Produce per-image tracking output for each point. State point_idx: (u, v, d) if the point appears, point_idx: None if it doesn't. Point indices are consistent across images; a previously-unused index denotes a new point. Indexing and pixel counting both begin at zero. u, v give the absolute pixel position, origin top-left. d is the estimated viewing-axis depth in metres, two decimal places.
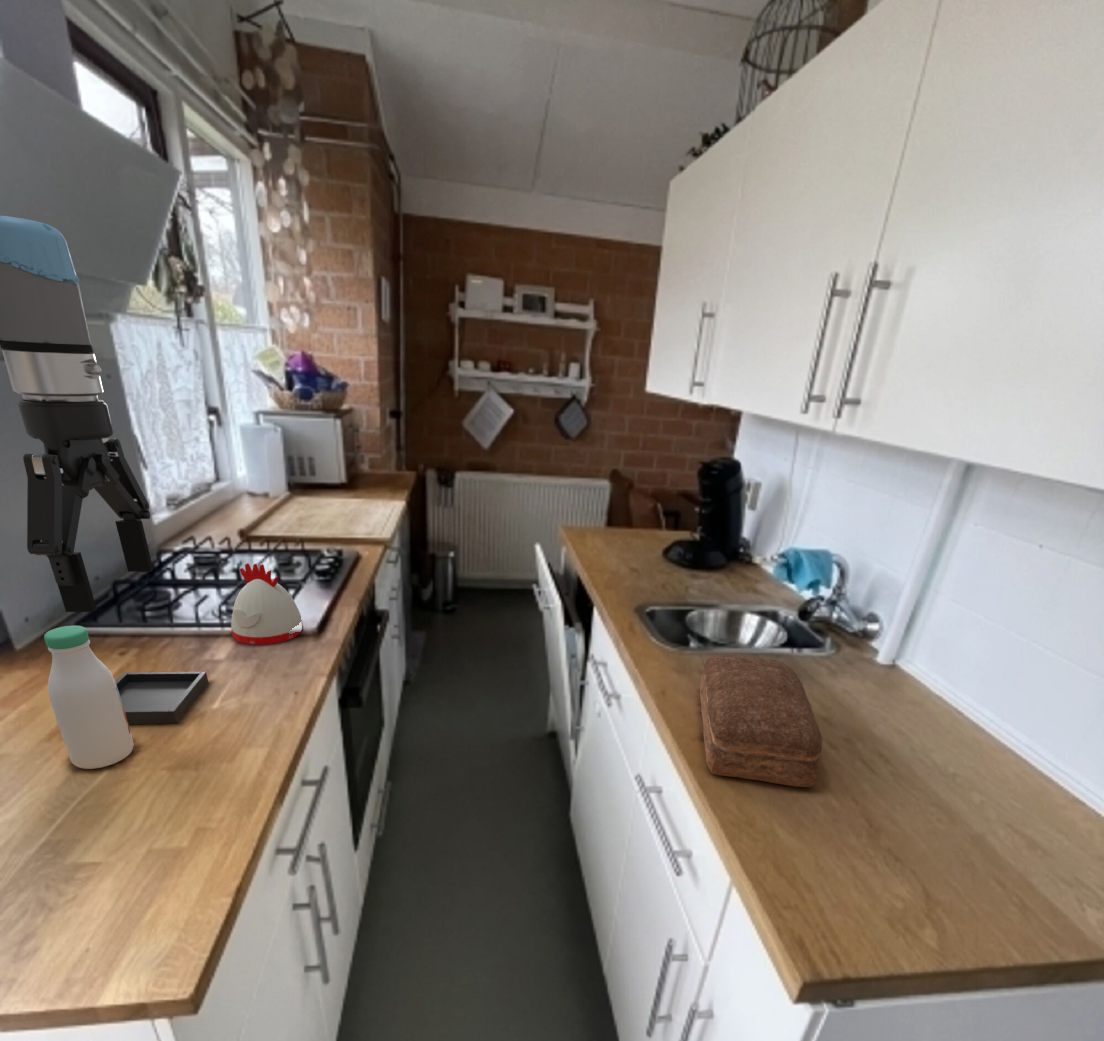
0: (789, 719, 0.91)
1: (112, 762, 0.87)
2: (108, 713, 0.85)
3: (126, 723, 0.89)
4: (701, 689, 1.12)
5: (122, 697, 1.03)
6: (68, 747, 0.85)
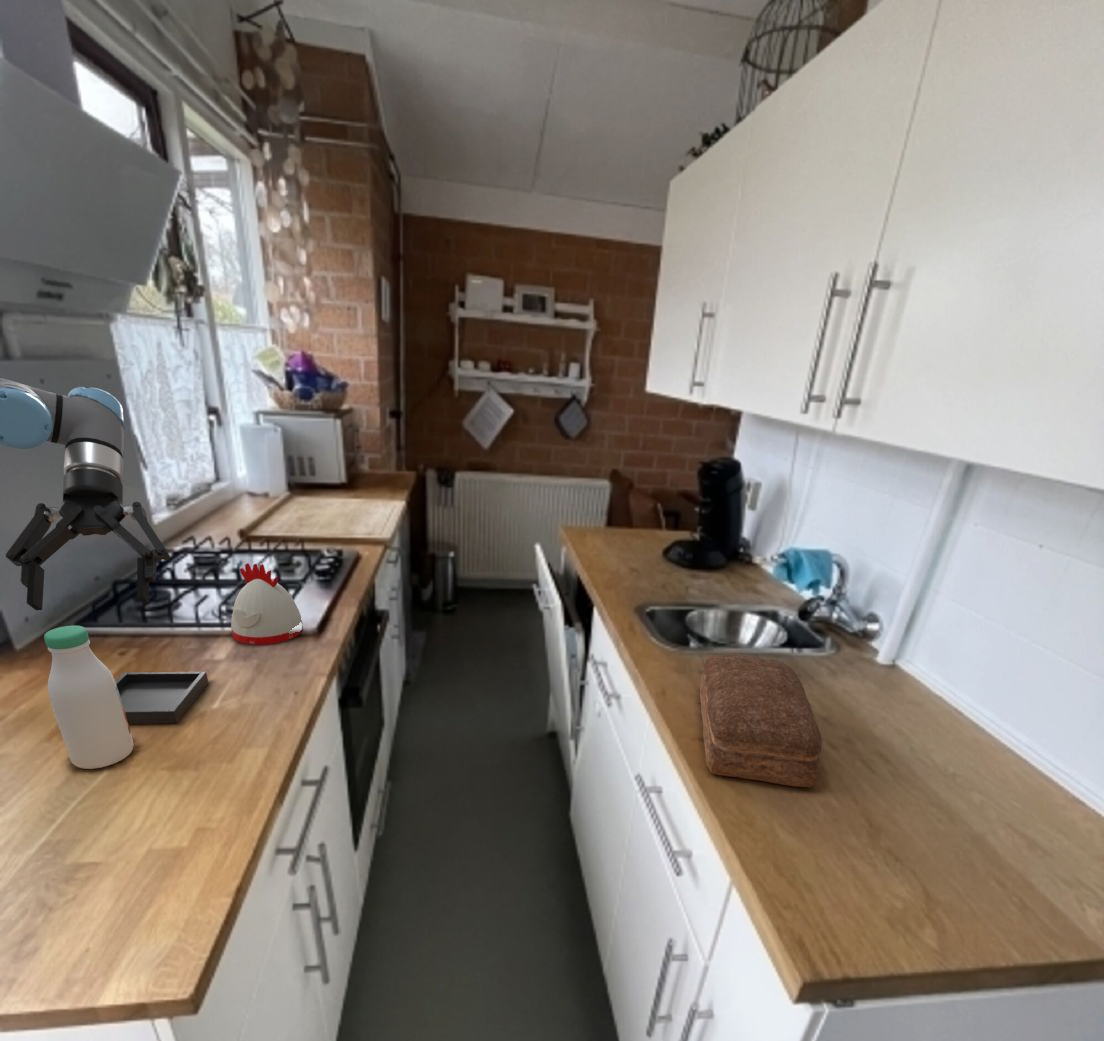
0: (789, 719, 0.91)
1: (112, 762, 0.87)
2: (108, 713, 0.85)
3: (126, 723, 0.89)
4: (701, 689, 1.12)
5: (122, 697, 1.03)
6: (68, 747, 0.85)
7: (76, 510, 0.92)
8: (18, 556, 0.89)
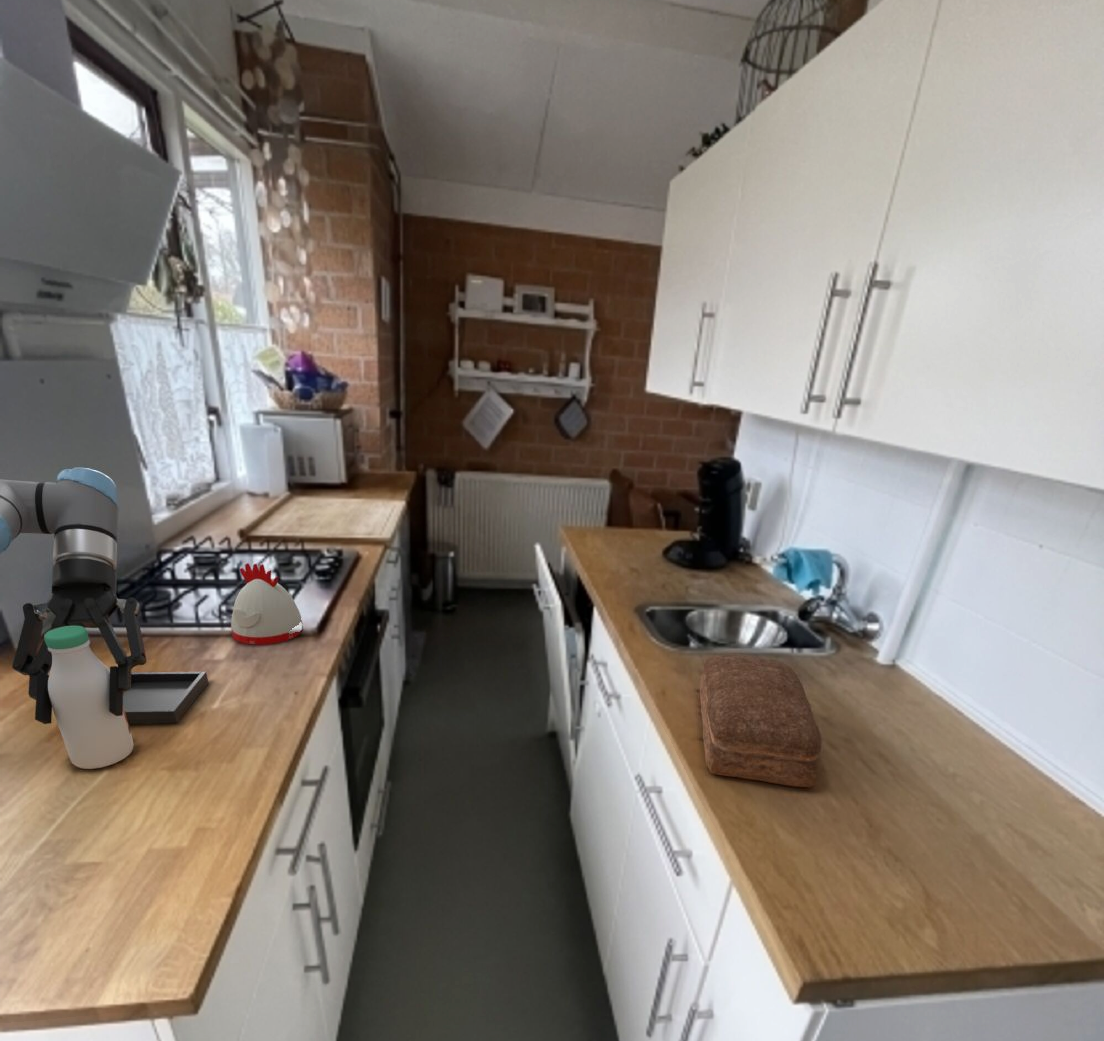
0: (788, 719, 0.91)
1: (112, 762, 0.87)
2: (108, 713, 0.85)
3: (126, 723, 0.89)
4: (701, 689, 1.12)
5: None
6: (68, 747, 0.85)
7: (67, 604, 0.86)
8: (26, 666, 0.83)
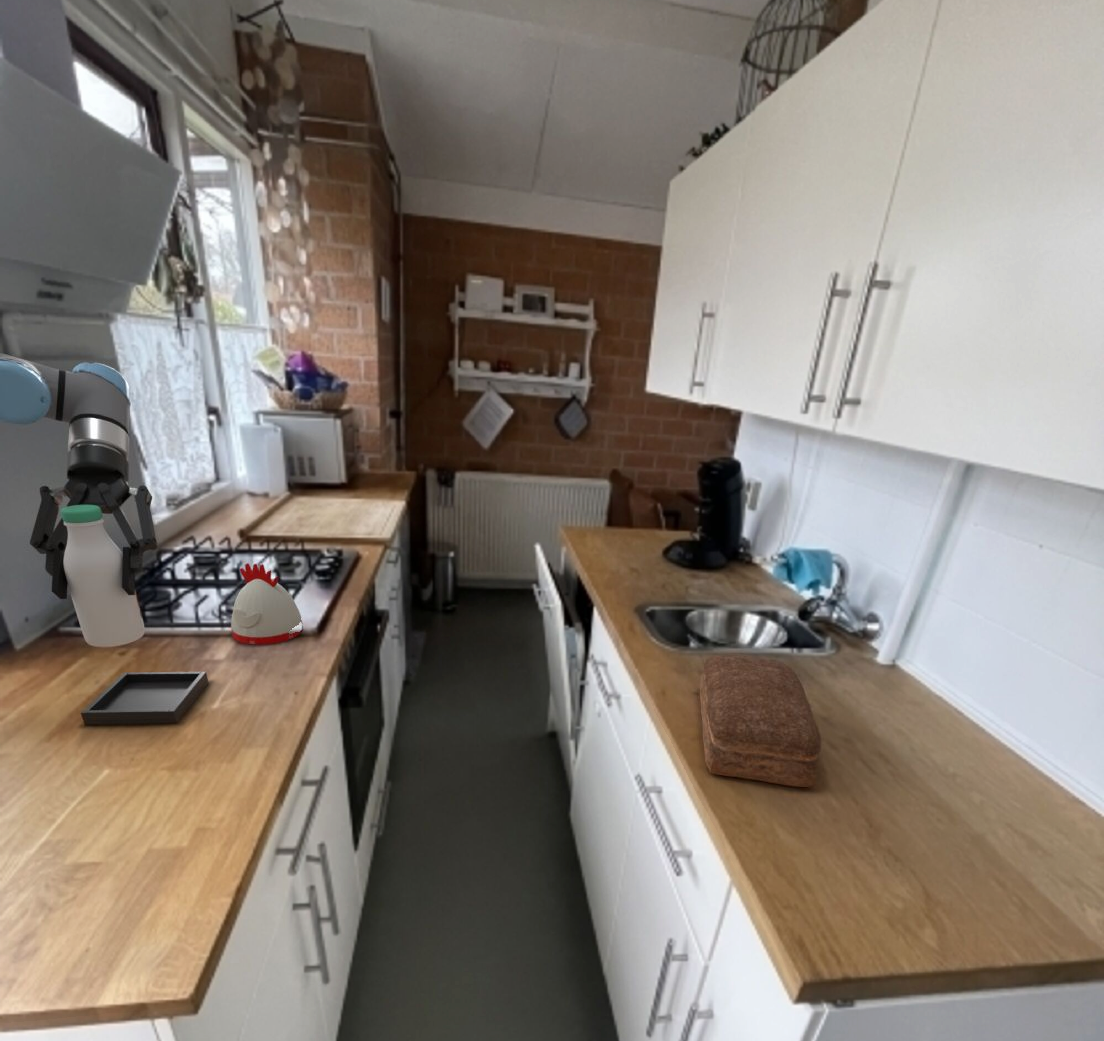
0: (788, 719, 0.91)
1: (124, 642, 0.91)
2: (121, 592, 0.88)
3: (138, 606, 0.92)
4: (701, 689, 1.12)
5: (122, 697, 1.03)
6: (83, 624, 0.88)
7: (81, 488, 0.89)
8: (43, 543, 0.86)
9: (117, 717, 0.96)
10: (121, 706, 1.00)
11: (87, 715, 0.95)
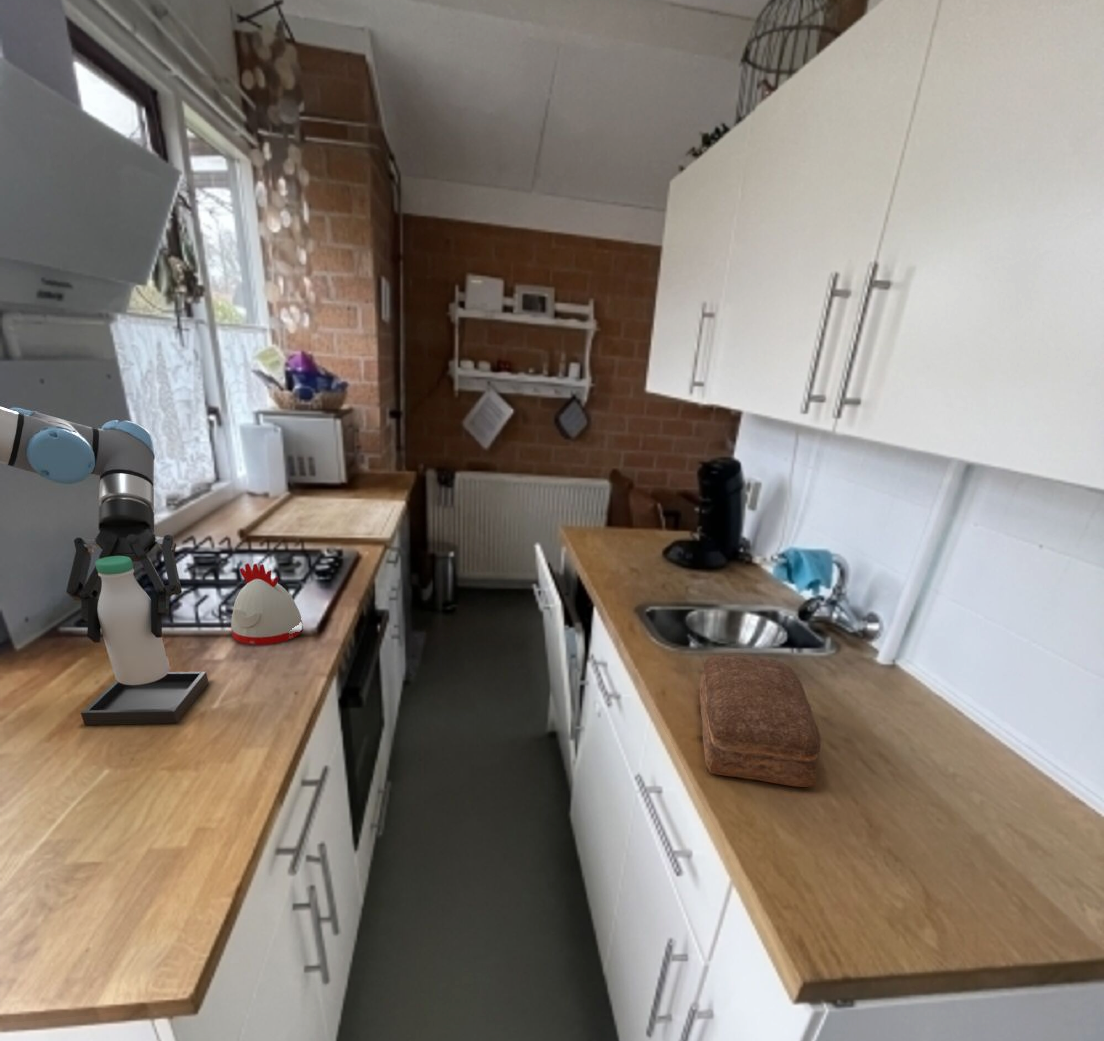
0: (788, 719, 0.91)
1: (152, 680, 0.99)
2: (149, 635, 0.96)
3: (164, 646, 1.00)
4: (701, 689, 1.12)
5: (122, 697, 1.03)
6: (114, 665, 0.96)
7: (112, 539, 0.97)
8: (78, 591, 0.94)
9: (117, 717, 0.96)
10: (121, 706, 1.00)
11: (87, 715, 0.95)
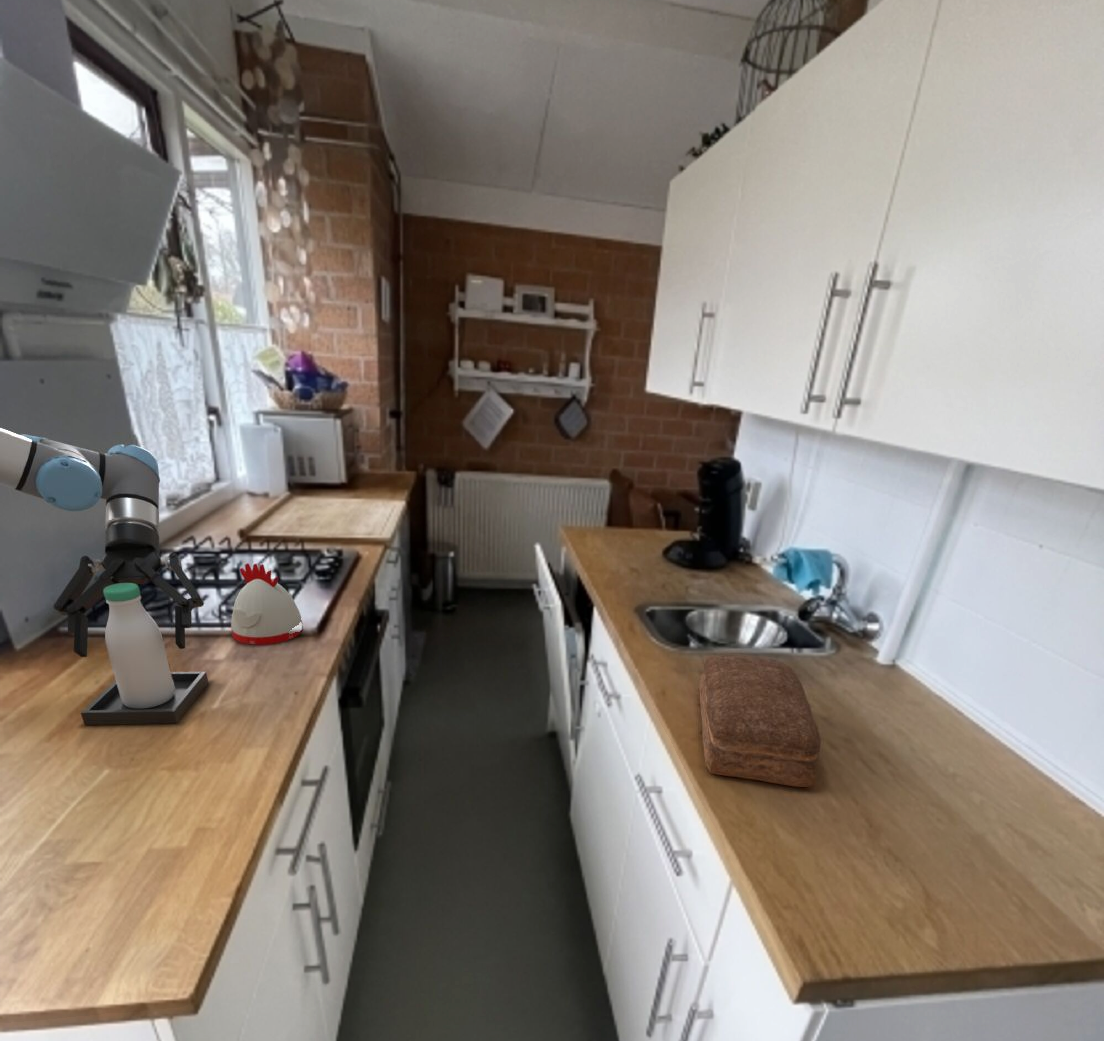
0: (787, 719, 0.91)
1: (158, 703, 1.00)
2: (155, 659, 0.98)
3: (169, 670, 1.02)
4: (701, 689, 1.12)
5: None
6: (121, 689, 0.98)
7: (118, 562, 0.98)
8: (65, 606, 0.95)
9: (117, 717, 0.96)
10: (121, 706, 1.00)
11: (87, 715, 0.95)
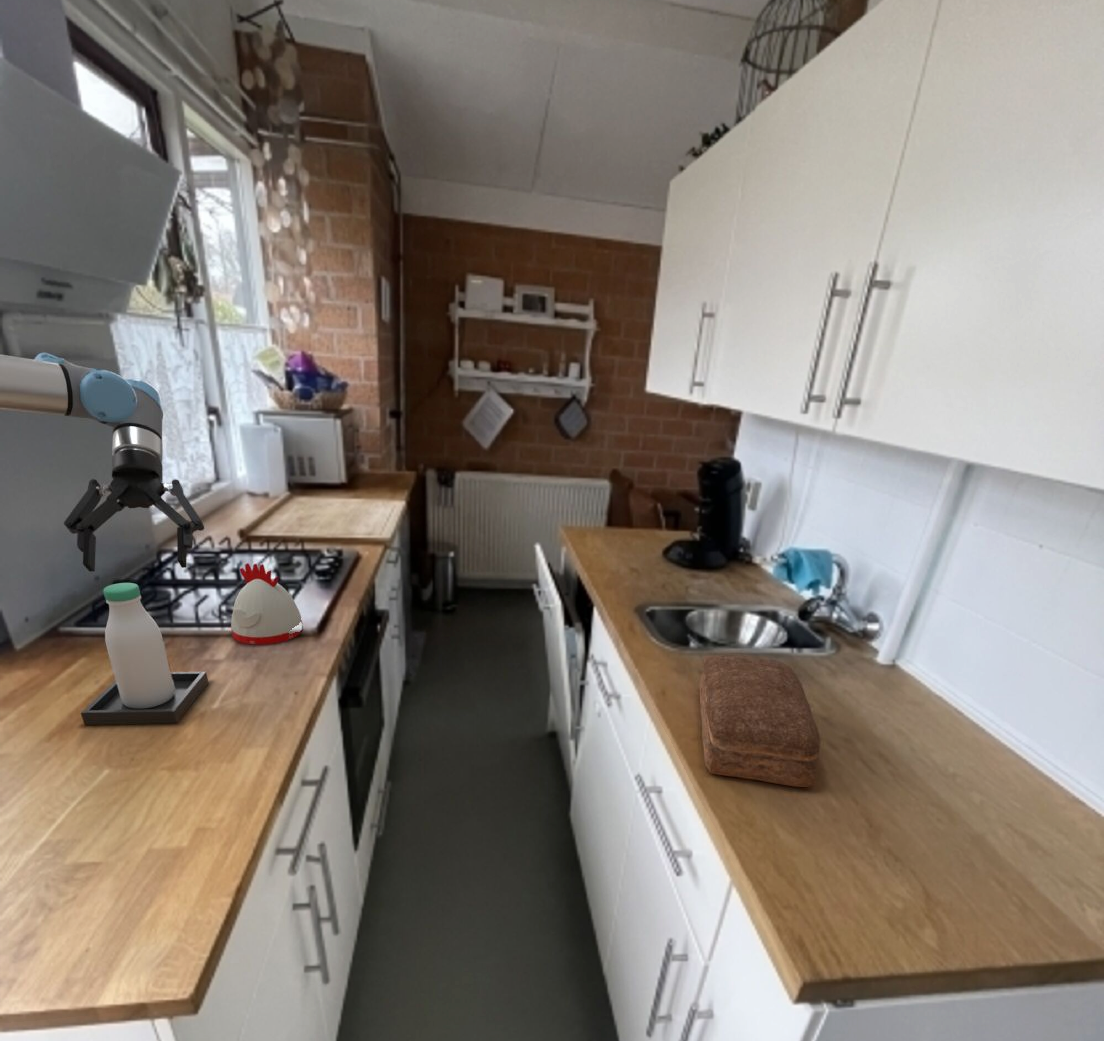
0: (787, 719, 0.91)
1: (158, 703, 1.00)
2: (155, 659, 0.98)
3: (169, 670, 1.02)
4: (700, 689, 1.12)
5: None
6: (121, 689, 0.98)
7: (124, 485, 1.05)
8: (74, 524, 1.02)
9: (117, 717, 0.96)
10: (121, 706, 1.00)
11: (87, 715, 0.95)
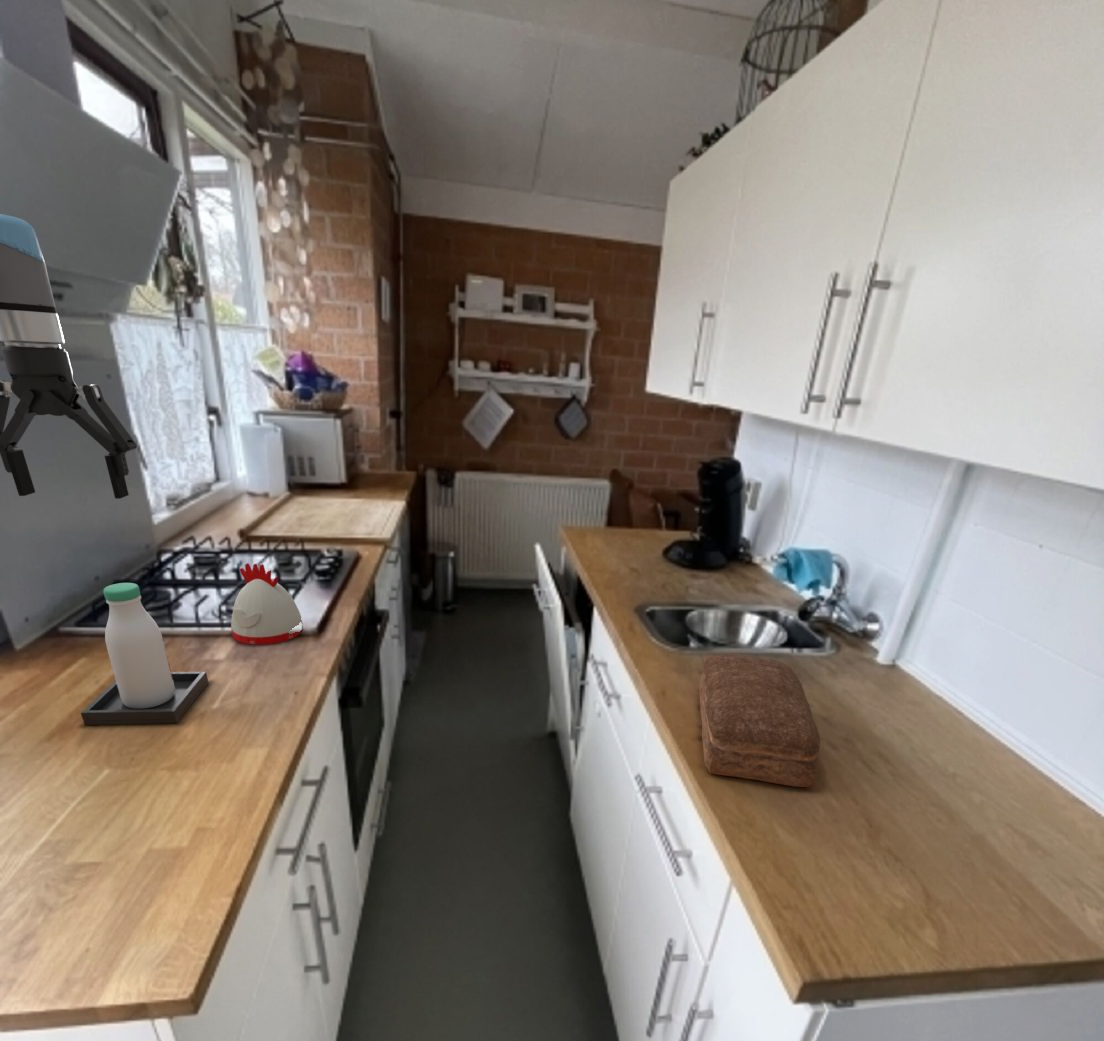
0: (787, 719, 0.91)
1: (158, 703, 1.00)
2: (155, 659, 0.98)
3: (169, 670, 1.02)
4: (700, 689, 1.12)
5: None
6: (121, 689, 0.98)
7: (28, 396, 0.88)
8: None
9: (117, 717, 0.96)
10: (121, 706, 1.00)
11: (87, 715, 0.95)
